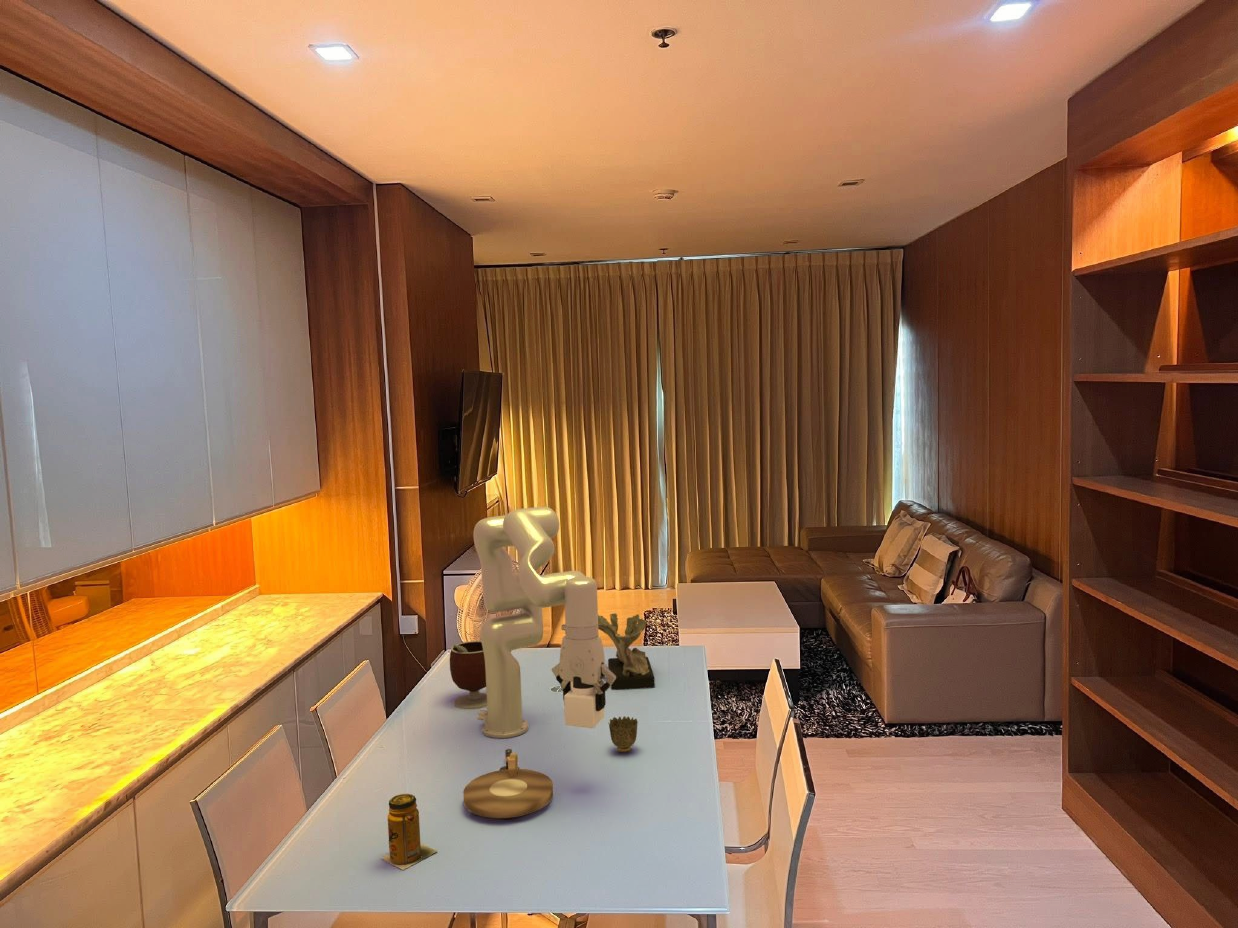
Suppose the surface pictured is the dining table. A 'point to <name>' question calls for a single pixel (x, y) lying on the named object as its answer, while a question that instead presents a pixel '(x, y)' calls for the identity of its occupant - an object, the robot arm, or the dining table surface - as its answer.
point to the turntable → (508, 792)
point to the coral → (627, 655)
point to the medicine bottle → (581, 705)
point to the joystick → (507, 754)
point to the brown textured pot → (623, 733)
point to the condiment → (405, 833)
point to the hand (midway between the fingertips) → (584, 706)
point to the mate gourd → (469, 674)
